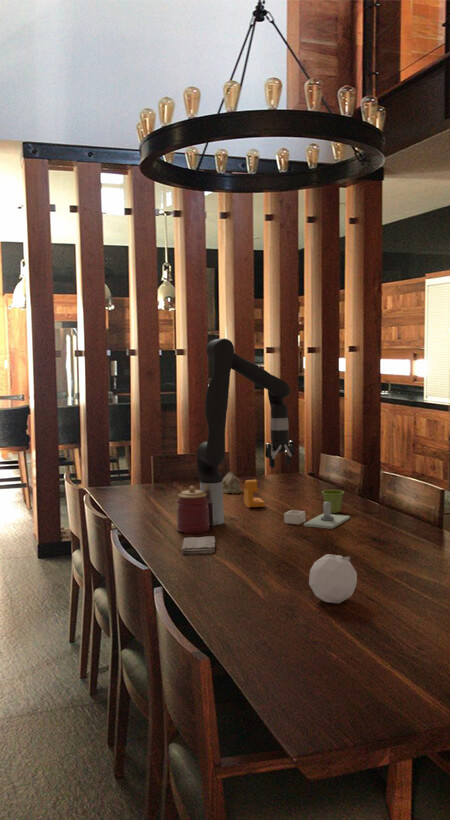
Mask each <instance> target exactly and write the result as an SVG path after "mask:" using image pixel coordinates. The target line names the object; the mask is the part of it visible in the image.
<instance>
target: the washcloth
mask: <svg viewBox="0 0 450 820" xmlns="http://www.w3.org/2000/svg"><path fill="white" fill-rule="evenodd" d="M215 548H216V539H215V536H212V535H210V536H209V535H208V536H200V537H194V536H193V537H184V538H183V539H182V545H181V551H182V552H181V554H182V555H207V554H209V555H210V554H211V555H212V554H214V553H215V552H216V551H215V550H216V549H215Z"/></svg>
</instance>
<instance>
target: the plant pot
mask: <svg viewBox="0 0 450 820" xmlns="http://www.w3.org/2000/svg"><path fill="white" fill-rule="evenodd" d="M321 494H322V496H323V501H324V502H330V507H331V514H337V513H340V512H341V509H342V501H343V500H342V499H343V495H344V494H345V491H343V490H341V489H340V490H339V489H326V490H322V491H321Z"/></svg>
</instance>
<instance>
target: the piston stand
mask: <svg viewBox="0 0 450 820" xmlns="http://www.w3.org/2000/svg"><path fill="white" fill-rule="evenodd" d="M349 519H351V516H350V515H343V514H335V513H331V507H330V502H323V513H321V514H319V515H317V516H315V517H314V518H312V519H309V520H308V521H305V522H303V523H302V524H303V527H308V528H309V527H311V528H318V529H320V528H321V529H329V530H331V529H332V530H333V529H334V528H336V527H337V526H339V525H341V524H343V523H344V522H346V521H348V520H349Z"/></svg>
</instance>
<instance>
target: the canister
mask: <svg viewBox="0 0 450 820" xmlns="http://www.w3.org/2000/svg"><path fill="white" fill-rule="evenodd" d="M206 495H207V494H206V493H204V492H203V491H201V490H200V489H196V487H195V486H194V485H190V486H189V487H188V490H186V489H185V490H183V491H181V492H180V493H179V494H178V495H177V497H178V499H176V501H175V503H176V504H177V508H176V522H177V523H176V528H177V531H178V532H179V531H180V532H179V533H181V532H186V533H185V534H190V533H191V534H201V533H207V532H208V531H210V528H211V526H210V523H209V507H208V502H209V499H208V498H206Z"/></svg>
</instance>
